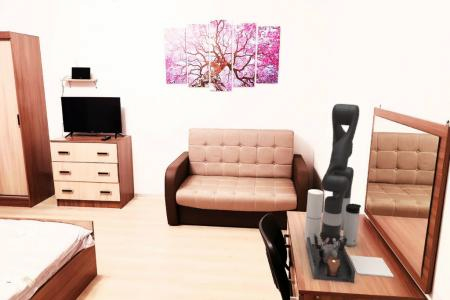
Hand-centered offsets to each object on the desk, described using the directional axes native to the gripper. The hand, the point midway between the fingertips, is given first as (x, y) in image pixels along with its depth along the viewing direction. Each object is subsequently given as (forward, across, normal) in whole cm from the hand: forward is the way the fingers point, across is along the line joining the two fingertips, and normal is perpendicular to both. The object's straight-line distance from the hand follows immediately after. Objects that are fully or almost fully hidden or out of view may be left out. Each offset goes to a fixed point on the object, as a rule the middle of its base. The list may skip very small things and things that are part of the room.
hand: (328, 257), depth 141 cm
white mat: (+2, -18, 0) cm, 18 cm away
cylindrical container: (+3, +4, -20) cm, 21 cm away
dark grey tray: (+2, 0, 0) cm, 2 cm away
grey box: (-1, 0, 0) cm, 1 cm away
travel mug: (+3, -14, -20) cm, 24 cm away
